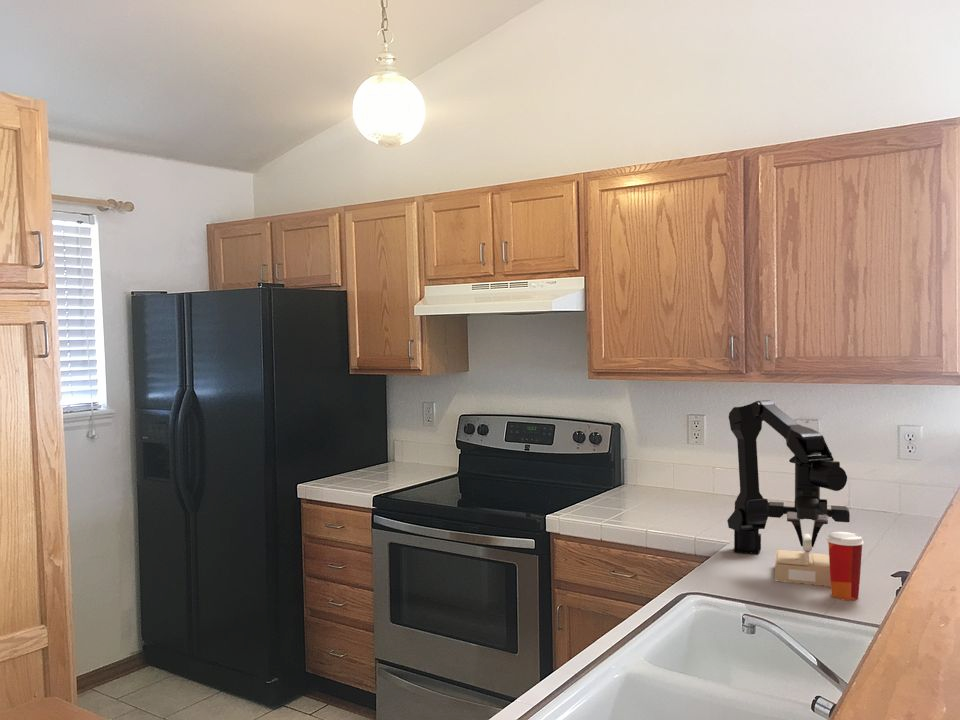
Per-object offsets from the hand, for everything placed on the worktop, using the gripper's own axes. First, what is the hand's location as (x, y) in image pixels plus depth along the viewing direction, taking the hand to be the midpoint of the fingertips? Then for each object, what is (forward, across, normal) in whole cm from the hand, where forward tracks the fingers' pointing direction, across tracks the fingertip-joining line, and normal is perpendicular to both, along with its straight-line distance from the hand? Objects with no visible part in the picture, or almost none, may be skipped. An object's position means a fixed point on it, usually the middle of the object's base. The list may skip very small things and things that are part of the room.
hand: (807, 546), depth 200 cm
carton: (+7, +1, 0) cm, 7 cm away
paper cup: (+8, +8, -13) cm, 17 cm away
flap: (+3, -3, 0) cm, 4 cm away
